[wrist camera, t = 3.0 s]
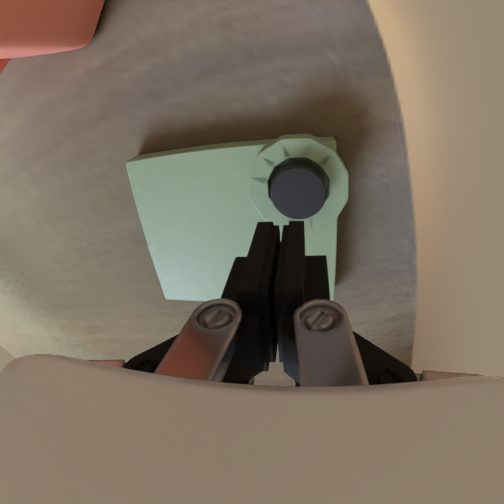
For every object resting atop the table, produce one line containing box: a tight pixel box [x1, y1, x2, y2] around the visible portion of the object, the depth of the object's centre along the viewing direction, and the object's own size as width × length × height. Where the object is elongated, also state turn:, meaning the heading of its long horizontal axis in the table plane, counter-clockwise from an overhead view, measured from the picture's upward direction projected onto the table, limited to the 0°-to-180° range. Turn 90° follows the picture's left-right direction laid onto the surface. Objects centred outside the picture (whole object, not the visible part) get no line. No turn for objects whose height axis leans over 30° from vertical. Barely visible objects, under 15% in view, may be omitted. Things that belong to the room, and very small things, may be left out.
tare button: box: [270, 161, 326, 219], centre depth 17 cm, size 3×3×2 cm
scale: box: [126, 134, 349, 301], centre depth 22 cm, size 16×14×4 cm
